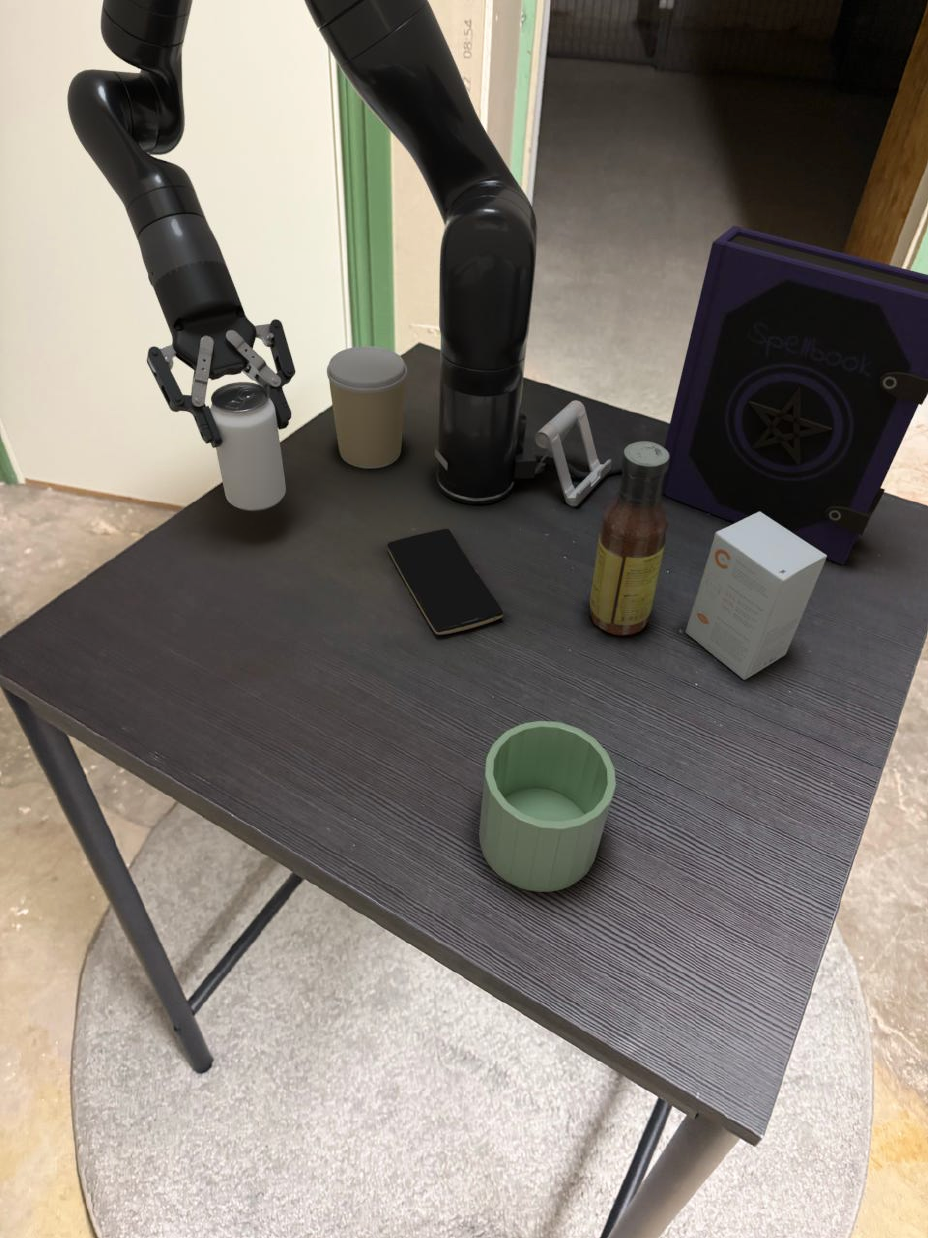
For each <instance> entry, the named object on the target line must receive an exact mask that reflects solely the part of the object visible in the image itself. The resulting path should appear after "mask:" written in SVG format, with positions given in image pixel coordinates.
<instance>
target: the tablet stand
mask: <svg viewBox="0 0 928 1238" xmlns="http://www.w3.org/2000/svg"><path fill="white" fill-rule="evenodd" d="M574 425H577V427H578V430H579V434H580V438H581V441H582V446H583V449H584V453H585V457H586V460H587V465H588V468H589V472H590V474H589V475H588V476H587V477H586V478H585V479H582V481H581V482H580V483H579V484H578V485H577V487H575V485H573V482H572V478H571V474H570V473H569V470H568V467H567V463H568V462H567V459H566V455H565V452H564V449H563V444H562V443H563V442H564V440H565V439H566V437H567V436H568V434H569V433H570V431H571V430H572V428H573V427H574ZM533 441H534V443H535V444H536V446H537V447H538V448H540V449H543V450H546V451H545V453H544V454H543V455H542V456H543V457H542V459H541V462H540V463H539V462H537V464H536V470H535V475H536V474H537V473H538V471H539V470H540V469H541V467H545V466H546V465H547V464H545V463H542V461H543V460H544V459H545V458H546V457H552V458H554V462H555V465H556V466H555V465H554V466H555V468H556V472H557V476H558V480H559V484H560V487H561V491H562V494H563V497H564V500H565V503H566V504H567V505H568V506H570V507H574V508H575V507H577V506H578V505H580V504H581V503H582V501H583V500H584V499H585V498H586V497H587V496H588V495H589V494H591V492H592V490H594V489H595V488H596V486H597V485H598V484H599V483H600V482H601V481H603V479H605V477H607V476H606V475H607V474H608V472H609V471H610V470H611V467H612V462H613V461H612V459H610V458H609V459H607V460H606V462H604V464H603V463H602V464H601V462H600V460H599V458H598V455H597V451H596V446H595V443H594V439H593V435H592V431H591V427H590V423H589V419H588V416H587V411H586V408H585V405H584V404H583V402H581V401H580V400H576V399H575V400H572V401H570V402H569V403H568V404H567V405H566V406H565V407H564V408H563V409H562V410H560V411H559V412H558V413H557V414H556V415H555V416H554V417H552V418H551V419H550V420H549V421H548V422H547V423H546V424H545V425H544V426H542V427H541V428H540V429H539V430H538V431H537V432H536V433H535V434H534V439H533ZM566 462H567V463H566Z"/></svg>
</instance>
